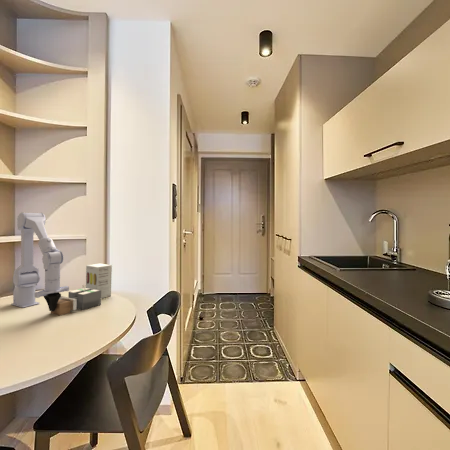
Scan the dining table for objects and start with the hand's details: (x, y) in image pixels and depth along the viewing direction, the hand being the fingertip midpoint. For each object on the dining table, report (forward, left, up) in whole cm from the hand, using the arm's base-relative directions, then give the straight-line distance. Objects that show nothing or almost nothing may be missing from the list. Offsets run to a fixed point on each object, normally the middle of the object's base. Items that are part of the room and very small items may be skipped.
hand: (52, 310), depth 135 cm
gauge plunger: (0, +12, -1) cm, 12 cm away
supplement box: (-8, +32, -2) cm, 33 cm away
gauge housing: (0, +17, -2) cm, 17 cm away
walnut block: (0, +4, -2) cm, 4 cm away
